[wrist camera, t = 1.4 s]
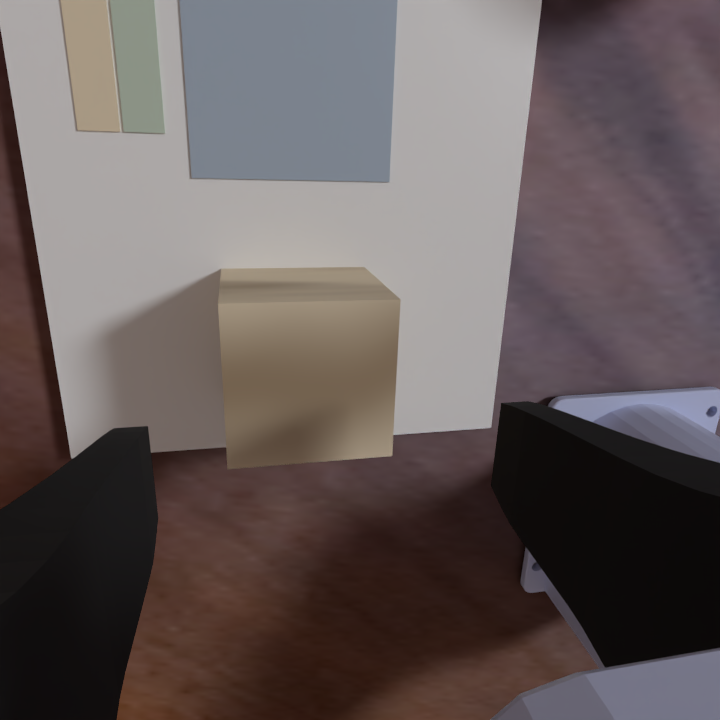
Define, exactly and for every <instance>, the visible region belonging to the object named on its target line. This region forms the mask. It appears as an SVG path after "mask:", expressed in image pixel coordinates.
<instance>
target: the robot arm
mask: <svg viewBox="0 0 720 720" xmlns="http://www.w3.org/2000/svg"><path fill="white" fill-rule="evenodd" d="M708 409H709V410H708ZM707 410H708V411H707ZM719 416H720V390H719V389H717V388H715V387H698V388H682V389H666V390H650V391H634V392H618V393H602V394H586V395H570V396H559V397H556V398H554V399H553V400H551V402H550V403H549V405H548V406H545V405H541V404H538V403H533V402H528V401H527V402H511V403H501V410H500V418H499V426H498V434H497V442H496V450H495V458H494V466H493V474H492V482H491V487H492V489H493V491H494V493H495V495H496V497H497V499H498V502H499V504H500V506H501V508H502V510H503V512H504V513H505V515H506V517H507V519H508V521H509V523H510V525H511V526H512V527H513V529H514V530H515V532H516V533H517V535H518V536H519V538H520V539H521V541H522V542H523V543H524V545H525V546H526V548H525V554H524V561H523V567H522V574H521V580H520V581H521V585H522V587H523V588H524V590H525V591H526V592H528V593H535V592H543V591H545V592H546V593H547V595H548V596H549V598H550V599H551V601H552V602H553V603H554V605H555V606H556V608H557V609H558V610H559V612H560V613H561V615H562V616H563V618H564V619H565V620H566V622H567V623H568V625H569V626H570V628H571V629H572V630H573V632H574V633H575V635H576V636H577V637H578V639H579V640H580V642H581V643H582V645H583V646H584V647H585V649H586V650H587V652H588V653H589V654H590V656H591V657H592V659H593V660H594V662H595V663H596V664H597V666H598V667H599V669H595V670H589V671H584V672H578V673H574V674H571V675H568V676H566V677H563V678H561V679H558V680H555V681H553V682H550V683H547V684H545V685H542V686H539V687H537V688H534V689H532V690H529V691H526V692H524V693H521V694H519V695H518V696H517V697H516V698H515V699H514V700H512V701H511V702H510V703H509V704H508V705H507V706H506V707H504V708H503V709H502V710H501V711H500V712H499V713H497V714H496V715H495V716H494V717H493V718H492V719H490V720H720V437H719V436H717V435H716V434H715V431H716V427H717V424H718V420H719ZM157 524H158V512H157V503H156V494H155V485H154V476H153V467H152V458H151V449H150V440H149V430H148V426H140V427H124V428H113V429H112V430H110V431H108V432H107V433H106V434H104V435H103V436H102V437H100V438H99V439H98V440H96V441H95V442H94V443H92V444H91V445H90V446H89V447H87V448H86V449H85V450H84V451H82V452H81V453H80V454H78V455H77V456H76V457H74V458H73V459H72V460H71V461H69V462H68V463H67V464H65V465H64V466H63V467H61V468H60V469H59V470H57V471H56V472H55V473H53V474H52V475H51V476H49V477H48V478H46V479H45V480H43V481H42V482H41V483H39V484H38V485H36V486H35V487H33V488H32V489H30V490H29V491H27V492H26V493H25V494H23V495H22V496H20V497H19V498H17V499H16V500H14V501H13V502H11V503H10V504H8V505H7V506H5V507H4V508H2V509H0V720H116V719H117V712H118V706H119V699H120V694H121V690H122V685H123V680H124V675H125V671H126V667H127V663H128V659H129V655H130V652H131V648H132V644H133V640H134V636H135V632H136V628H137V625H138V621H139V617H140V613H141V609H142V605H143V601H144V597H145V593H146V589H147V586H148V582H149V578H150V574H151V569H152V565H153V559H154V551H155V543H156V533H157ZM535 562H537V563H536V564H535V565H533V564H534V563H535Z"/></svg>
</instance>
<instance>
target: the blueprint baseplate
mask: <svg viewBox="0 0 720 720" xmlns="http://www.w3.org/2000/svg"><path fill="white" fill-rule="evenodd" d="M541 5H542V0H0V29H1V35H2V41H3V47H4V53H5V60H6V66H7V72H8V78H9V84H10V90H11V96H12V102H13V108H14V114H15V120H16V126H17V132H18V138H19V144H20V151H21V157H22V163H23V169H24V175H25V181H26V187H27V193H28V199H29V205H30V211H31V217H32V223H33V229H34V235H35V242H36V248H37V254H38V260H39V266H40V272H41V278H42V284H43V290H44V296H45V302H46V308H47V314H48V320H49V326H50V333H51V339H52V345H53V351H54V357H55V363H56V369H57V375H58V381H59V387H60V393H61V399H62V405H63V411H64V417H65V424H66V430H67V436H68V442H69V448H70V454H71V458H74V457H76V456H77V455H78V454H80V453H81V452H82V451H84V450H85V449H86V448H87V447H89V446H90V445H91V444H92V443H94V442H95V441H96V440H98V439H99V438H100V437H102V436H103V435H104V434H106V433H107V432H108V431H110V430H112V429H113V428H124V427H140V426H148V430H149V440H150V449H151V453H153V452H167V451H180V450H194V449H208V448H221V447H226V433H225V416H224V399H223V382H222V365H221V348H220V330H219V313H218V298H219V288H220V277H221V269H233V268H323V267H365V268H366V269H367V270H368V271H370V272H371V273H372V274H373V275H374V276H375V277H376V278H377V279H378V280H380V281H381V282H382V283H383V284H384V285H385V286H386V287H387V288H388V289H390V290H391V291H392V292H393V293H394V294H395V295H396V296H397V297H398V298H400V299H401V302H400V320H399V338H398V357H397V375H396V394H395V412H394V430H393V435H400V434H413V433H427V432H441V431H454V430H468V429H482V428H491V423H492V415H493V406H494V398H495V390H496V381H497V373H498V364H499V356H500V348H501V339H502V331H503V323H504V314H505V306H506V298H507V289H508V281H509V272H510V264H511V256H512V247H513V239H514V231H515V222H516V214H517V205H518V197H519V189H520V180H521V172H522V164H523V155H524V147H525V139H526V130H527V122H528V113H529V105H530V97H531V88H532V80H533V72H534V63H535V55H536V46H537V38H538V30H539V21H540V13H541Z"/></svg>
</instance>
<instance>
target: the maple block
mask: <svg viewBox="0 0 720 720" xmlns="http://www.w3.org/2000/svg"><path fill="white" fill-rule="evenodd" d="M400 302H401V299H400V298H398V297H397V296H396V295H395V294H394V293H393V292H392V291H391V290H390V289H388V288H387V287H386V286H385V285H384V284H383V283H382V282H381V281H380V280H378V279H377V278H376V277H375V276H374V275H373V274H372V273H371V272H370V271H368V270H367V269H366V268H365V267H323V268H233V269H221V277H220V288H219V298H218V313H219V330H220V348H221V365H222V382H223V399H224V416H225V433H226V450H227V467H228V469H237V468H249V467H261V466H274V465H286V464H299V463H311V462H323V461H336V460H348V459H361V458H373V457H385V456H392V449H393V430H394V412H395V394H396V375H397V357H398V338H399V320H400Z"/></svg>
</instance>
